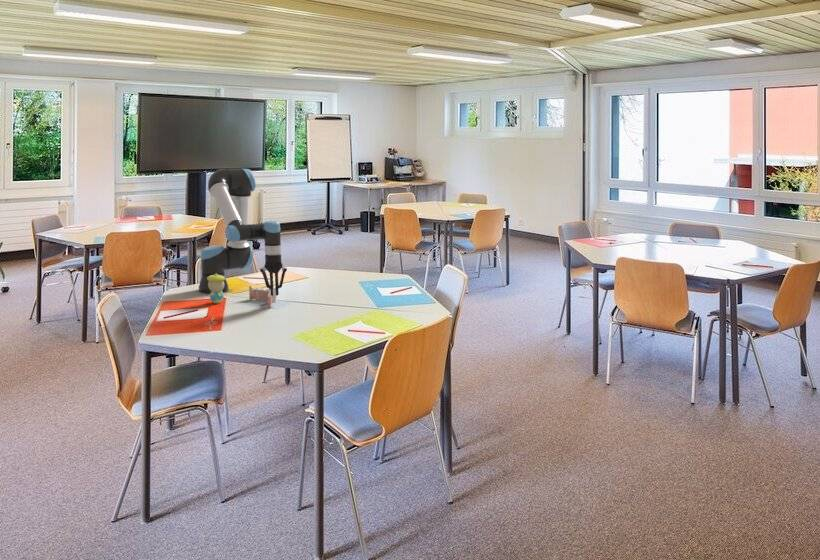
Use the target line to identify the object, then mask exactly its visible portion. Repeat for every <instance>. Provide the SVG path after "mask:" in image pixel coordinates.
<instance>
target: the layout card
mask: <svg viewBox="0 0 820 560" xmlns="http://www.w3.org/2000/svg"><path fill="white" fill-rule="evenodd" d="M290 304H293V302H292V301H283V300H277V302H276V303H273V302H272V304H271V307H268V301H264V300H255V299H252V300H250V301H248V302H245V303H242V305H244V306H251V307H260V308H267V309H276V310H278V309H281V308H283V307H286V306H288V305H290Z"/></svg>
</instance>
